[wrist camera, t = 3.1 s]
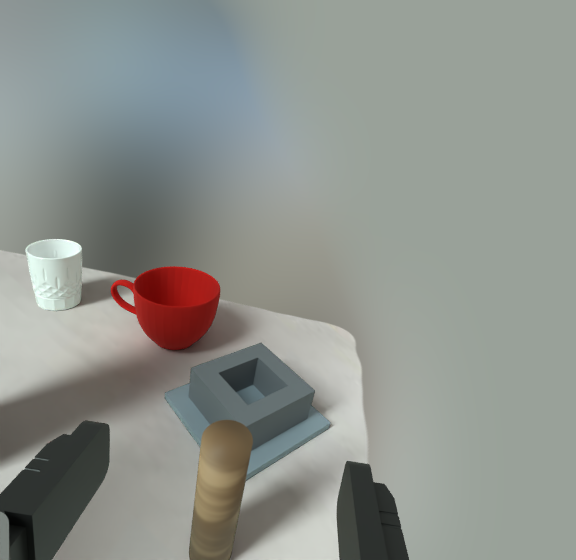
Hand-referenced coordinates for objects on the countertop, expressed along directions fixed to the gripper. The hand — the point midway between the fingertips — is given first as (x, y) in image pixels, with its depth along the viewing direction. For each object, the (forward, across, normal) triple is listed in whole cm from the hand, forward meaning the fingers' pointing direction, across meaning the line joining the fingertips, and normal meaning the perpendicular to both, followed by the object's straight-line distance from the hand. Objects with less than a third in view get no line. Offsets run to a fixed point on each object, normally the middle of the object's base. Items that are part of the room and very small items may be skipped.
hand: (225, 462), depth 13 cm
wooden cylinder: (+17, -3, -26) cm, 32 cm away
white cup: (+51, -38, -20) cm, 67 cm away
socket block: (+34, -2, -24) cm, 42 cm away
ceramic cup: (+48, -19, -21) cm, 55 cm away
